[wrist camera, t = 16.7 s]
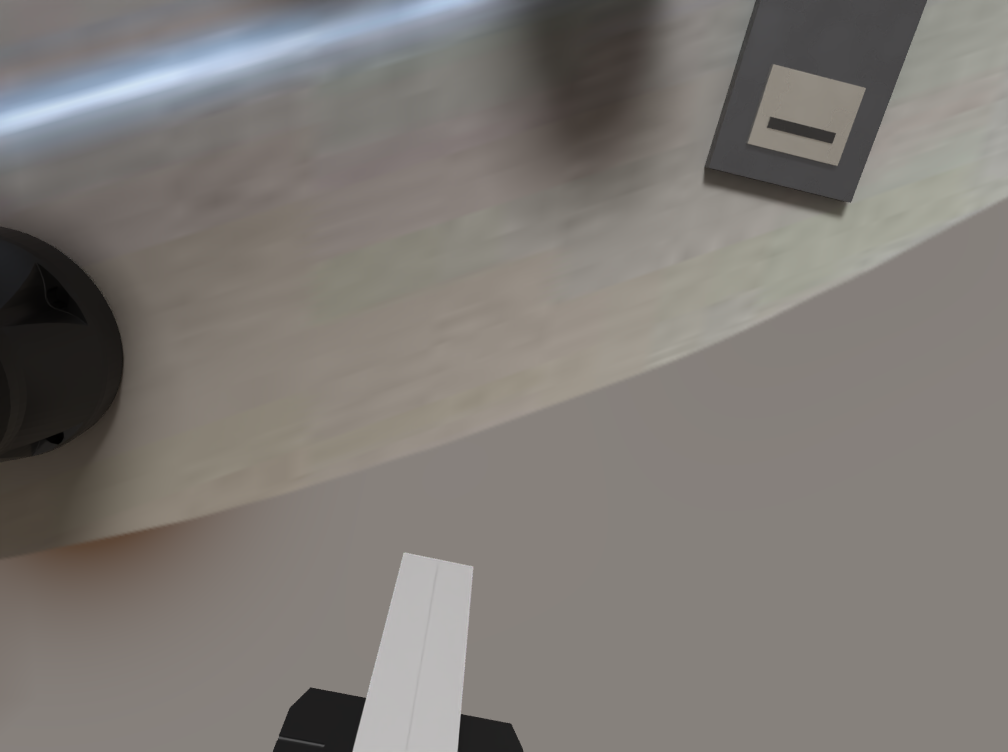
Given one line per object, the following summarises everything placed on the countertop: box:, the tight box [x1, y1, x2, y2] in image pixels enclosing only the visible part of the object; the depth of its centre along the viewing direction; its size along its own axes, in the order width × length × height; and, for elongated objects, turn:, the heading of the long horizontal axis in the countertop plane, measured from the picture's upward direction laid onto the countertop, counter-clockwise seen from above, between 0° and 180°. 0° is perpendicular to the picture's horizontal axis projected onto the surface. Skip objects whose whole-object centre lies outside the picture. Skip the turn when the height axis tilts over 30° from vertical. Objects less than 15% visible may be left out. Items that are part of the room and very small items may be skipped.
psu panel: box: [705, 0, 927, 202], centre depth 40 cm, size 9×18×1 cm, turn 167°
